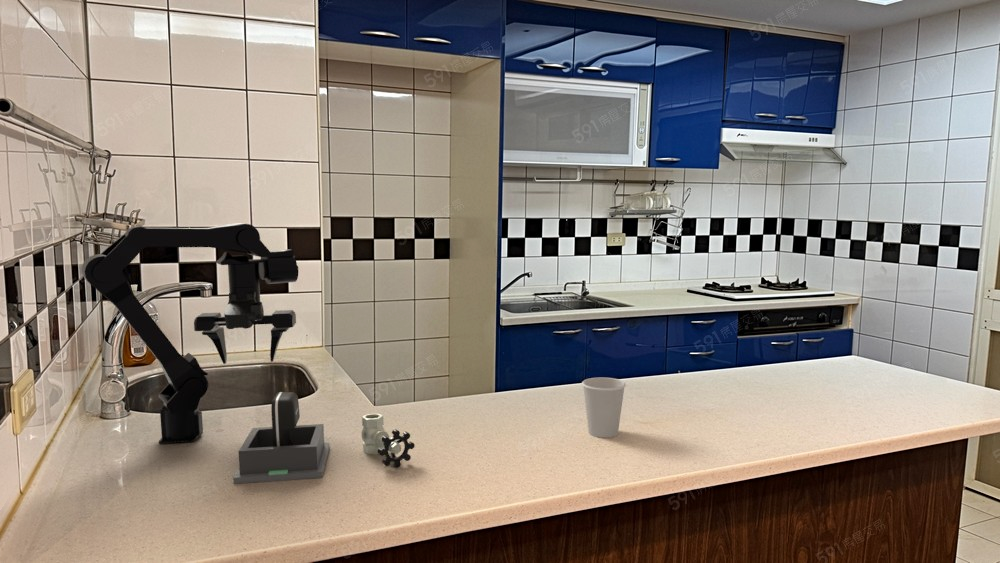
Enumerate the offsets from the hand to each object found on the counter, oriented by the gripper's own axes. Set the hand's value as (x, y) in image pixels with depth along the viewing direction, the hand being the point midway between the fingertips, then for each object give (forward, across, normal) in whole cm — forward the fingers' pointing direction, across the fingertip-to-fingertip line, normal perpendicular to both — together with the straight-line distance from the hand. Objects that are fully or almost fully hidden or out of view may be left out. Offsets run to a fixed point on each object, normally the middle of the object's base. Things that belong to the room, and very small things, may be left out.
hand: (248, 362), depth 143 cm
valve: (+13, +27, -23) cm, 38 cm away
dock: (+13, +10, -24) cm, 29 cm away
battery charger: (+12, +11, -24) cm, 29 cm away
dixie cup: (+13, +69, -18) cm, 72 cm away
